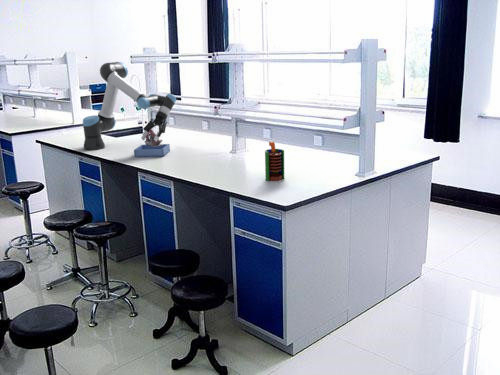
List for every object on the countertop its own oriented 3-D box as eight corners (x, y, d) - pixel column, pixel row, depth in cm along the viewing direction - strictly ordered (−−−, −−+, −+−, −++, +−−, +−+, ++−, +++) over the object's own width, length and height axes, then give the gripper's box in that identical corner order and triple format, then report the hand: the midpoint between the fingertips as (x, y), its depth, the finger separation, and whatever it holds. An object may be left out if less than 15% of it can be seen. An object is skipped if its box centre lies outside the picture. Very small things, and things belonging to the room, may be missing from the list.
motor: (272, 182, 268) (271, 145, 263) (261, 179, 275) (260, 142, 270) (286, 178, 274) (286, 142, 268) (276, 175, 281) (275, 140, 275)
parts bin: (134, 157, 342) (133, 149, 340) (142, 151, 359) (141, 144, 357) (163, 156, 340) (163, 149, 338) (170, 151, 357) (169, 144, 356)
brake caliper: (139, 143, 345) (145, 127, 348) (149, 150, 354) (154, 134, 357) (151, 144, 339) (157, 128, 342) (161, 151, 348) (167, 135, 351)
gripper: (178, 118, 348) (164, 144, 340) (153, 116, 361) (139, 141, 354) (172, 111, 343) (158, 138, 335) (147, 110, 356) (133, 135, 348)
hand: (148, 140), depth 344 cm, fingers closed on brake caliper, 11 cm apart
